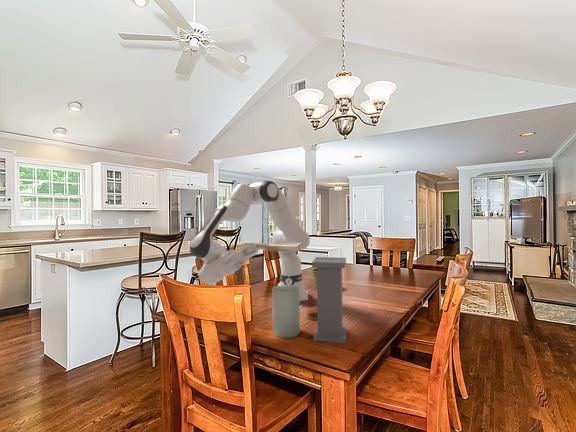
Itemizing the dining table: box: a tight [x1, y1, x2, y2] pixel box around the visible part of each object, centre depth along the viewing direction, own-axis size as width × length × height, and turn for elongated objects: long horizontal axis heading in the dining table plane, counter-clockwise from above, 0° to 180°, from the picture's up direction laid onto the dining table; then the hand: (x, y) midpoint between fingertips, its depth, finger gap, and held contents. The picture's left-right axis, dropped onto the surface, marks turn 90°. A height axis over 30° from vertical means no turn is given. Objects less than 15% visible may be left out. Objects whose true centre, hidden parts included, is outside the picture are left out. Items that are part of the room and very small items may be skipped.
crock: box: [271, 285, 301, 339], centre depth 128 cm, size 11×11×18 cm
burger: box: [306, 306, 317, 322], centre depth 144 cm, size 10×9×5 cm
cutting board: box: [241, 242, 302, 252], centre depth 128 cm, size 12×24×2 cm, turn 77°
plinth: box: [311, 256, 348, 344], centre depth 123 cm, size 12×12×30 cm
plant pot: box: [311, 267, 317, 289], centre depth 200 cm, size 12×12×11 cm
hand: (258, 245), depth 130 cm, fingers closed on cutting board, 4 cm apart
